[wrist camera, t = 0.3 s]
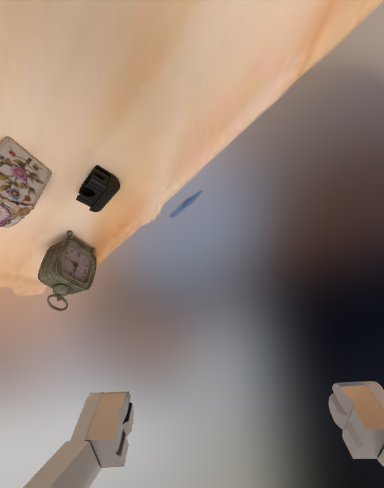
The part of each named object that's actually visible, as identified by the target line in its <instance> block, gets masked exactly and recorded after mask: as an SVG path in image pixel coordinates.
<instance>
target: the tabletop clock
mask: <svg viewBox="0 0 384 488" xmlns="http://www.w3.org/2000/svg"><path fill="white" fill-rule="evenodd" d="M67 235H68V239H67V240H65V241H62V242H60V243H57V244H55V245H52V246H51V247H50V248H49V249H48V251H47V252H46V254H45V256H44V258H43V261H42V263H41V266H40V269H39V273H38V279H39V280H40V281H41V282H42V283H44V284H45V285H47V286H49V287H51V288H53V292H54V293H55V294H53V295H50V296H49V297H48V299H47V302H48V304H49V306H50V307H51V308H53V309H55V310H58V311H63V310H65V309H66V308H67V307H68V303H67V301H66V300H65V299H64V298H63V297H62V296H66V295H68V294H74V293H77V292H81V291H84V290H87V289H89V288H90V286H91V284H92V282H93V279H94V275H95V271H96V257H95V256H94V254H93V253H91V252H95V249H94V248H91V250H90V251H89V250H88V249H87V248H85V247H84V246H83V245H81V244H79V243H78V242H76V241H74V240H72V239H70V236H71V235H72V232H71V231H68V232H67ZM52 296H54V297H57V300H58V301H60V300H61V299H62V300H63V301H64V302H65V303H66V307H65V308H63V309H60V308H57V307H55V306H53V305H52V304H51V303H50V301H49V298H50V297H52Z"/></svg>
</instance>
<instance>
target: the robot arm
mask: <svg viewBox="0 0 384 488" xmlns="http://www.w3.org/2000/svg"><path fill="white" fill-rule="evenodd" d="M332 389H333V391H334V393H333V394H332V395H331V396H330V398H329V407H330V412H331V414H332V417H333V419H334V421H335V423H336V424H337V425H338V426H339V427H340V428H341V429H343V436H342V437H343V439H344V441H345V443H346V445H347V447H348V449H349V451H350V453H351V455H352V457H353V459H378V461H379V462H380V463H381V464H382V465H383V466H384V390H383V388H382V387H381V386H380V385H379V384H378V383H377V382H373V381H372V382H348V383H336V384H334V385H333V388H332ZM129 401H130V394H129V392H106V393H104V392H100V393H90V394H89V396H88V397H87V399H86V402H85V405H84V407H83V409H82V412H81V414H80V417H79V420H78V422H77V425H76V427H75V430H74V432H73V435H72V437H71V440H70V441H68V442H65V443H64V444H63V445H62V446H61V447H60V449H59V450H58V451H57V452H56V453H55V454H54V455H53V456H52V457H51V458H50V459H49V461H47V463H46V464H45V465H44V466H43V467H42V468H41V469H40V470H39V471H38V472H37V473H36V474H35V475H34V476H33V478H32V479H31V480H30V481H29V482H28V483H27V484H26V485H25V486H24V487H23V488H89V487H90V485H91V484H92V483H93V481H94V480H95V478H96V477H97V475H98V474H99V472H100V471H101V468H106V467H122V466H124V464H125V459H126V454H127V450H128V441H127V438H126V437H127V436H128V434H129V433H130V432H131V429H132V424H133V414H134V412H133V405H132V403H131V402H129Z"/></svg>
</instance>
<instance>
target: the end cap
mask: <svg viewBox="0 0 384 488" xmlns="http://www.w3.org/2000/svg"><path fill="white" fill-rule="evenodd" d="M119 189H120V183H119V181H118V179H117V178H116V177H115V176H114V175H112V174H111V173H110V172H108V171H107V170H105V169H103V168H102V167H100V166H98V165H96V166H95V167H94V169H93V170H92V171H91V173H90V174H89V176H88V177H87V178H86V180H85V181H84V183H83V184H82V186H81V188H80V190H79V193H80V195H78V196H77V198H76V200H78V201H80V202H82V203H84V204H86V205H88V206H90V211H93V212H99V211H101V210H102V208H103V207H104V206H105V205H106V204H107V203H108V202H109V201H110V199H111V198H112V197H113V196H114V195H115V194H116V193H117V191H118V190H119Z"/></svg>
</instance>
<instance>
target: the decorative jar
mask: <svg viewBox="0 0 384 488" xmlns="http://www.w3.org/2000/svg"><path fill="white" fill-rule="evenodd" d="M51 174H52V172H51V171H50V170H49V169H48V168H46V167H45V166H44V165H43V164H42V163H40V162H39V161H38V160H37V159H35V158H34V157H33V156H32V155H31V154H29V153H28V152H27V151H26V150H25V149H23V148H22V147H21V146H20V145H18V144H17V143H16V142H15V141H13V140H12V139H11V138H10V137H6V138H4V139H3V140H2V141H1V142H0V227H11V226H13V225H14V224H17V223H18V222H19V221H20V220H21V219H23V218H24V217H25V216H26V215H27V214H29V212H30V211H31V210H32V209H34V207H35V205H36V203H37V201H38V199H39V197H40V196H41V194H42V192H43V190H44V188H45V186H46V184H47V182H48V180H49V178H50V176H51Z"/></svg>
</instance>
